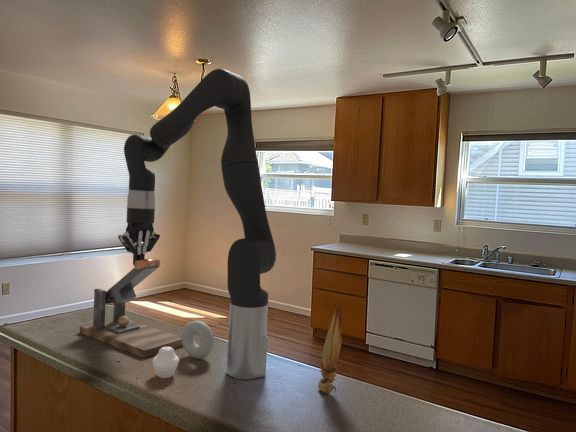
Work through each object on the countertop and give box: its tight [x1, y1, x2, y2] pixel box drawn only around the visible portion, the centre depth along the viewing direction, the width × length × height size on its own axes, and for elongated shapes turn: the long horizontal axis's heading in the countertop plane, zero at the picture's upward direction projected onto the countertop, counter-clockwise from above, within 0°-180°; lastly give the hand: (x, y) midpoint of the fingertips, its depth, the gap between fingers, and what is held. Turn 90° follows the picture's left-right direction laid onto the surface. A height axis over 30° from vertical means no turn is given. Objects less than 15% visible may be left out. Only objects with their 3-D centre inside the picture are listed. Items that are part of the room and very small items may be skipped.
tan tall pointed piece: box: [317, 306, 343, 394], centre depth 100 cm, size 7×5×20 cm
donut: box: [181, 320, 215, 360], centre depth 118 cm, size 10×4×10 cm, turn 61°
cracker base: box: [79, 288, 183, 359], centre depth 130 cm, size 30×14×13 cm, turn 55°
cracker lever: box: [105, 257, 161, 305], centre depth 131 cm, size 24×6×6 cm
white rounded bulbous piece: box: [152, 346, 180, 379], centre depth 106 cm, size 6×6×7 cm
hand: (138, 267), depth 128 cm, fingers closed
